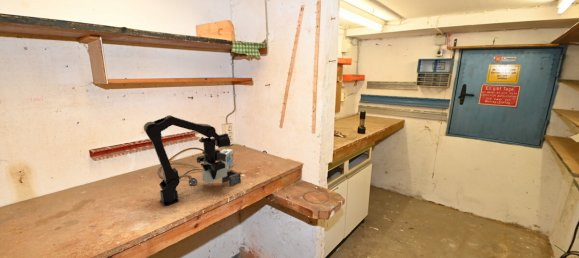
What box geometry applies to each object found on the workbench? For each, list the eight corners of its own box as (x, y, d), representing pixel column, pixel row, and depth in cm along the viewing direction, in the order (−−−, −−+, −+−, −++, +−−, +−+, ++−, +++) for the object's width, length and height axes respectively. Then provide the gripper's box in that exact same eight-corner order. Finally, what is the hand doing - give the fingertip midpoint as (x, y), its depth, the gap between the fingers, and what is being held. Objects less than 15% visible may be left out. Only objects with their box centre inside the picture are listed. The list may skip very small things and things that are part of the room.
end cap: (231, 186, 138) (230, 177, 137) (222, 182, 144) (221, 172, 143) (240, 182, 143) (240, 173, 142) (231, 178, 149) (231, 169, 147)
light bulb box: (227, 170, 160) (226, 154, 158) (217, 169, 162) (216, 153, 159) (234, 164, 171) (233, 149, 168) (225, 163, 172) (224, 148, 169)
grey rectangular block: (207, 183, 130) (206, 174, 129) (202, 180, 132) (202, 171, 131) (227, 176, 138) (226, 167, 137) (222, 174, 141) (222, 165, 140)
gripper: (233, 149, 130) (235, 178, 133) (213, 142, 142) (215, 169, 146) (214, 154, 122) (216, 185, 125) (195, 147, 134) (197, 174, 138)
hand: (211, 177), depth 134 cm, fingers closed on grey rectangular block, 4 cm apart
